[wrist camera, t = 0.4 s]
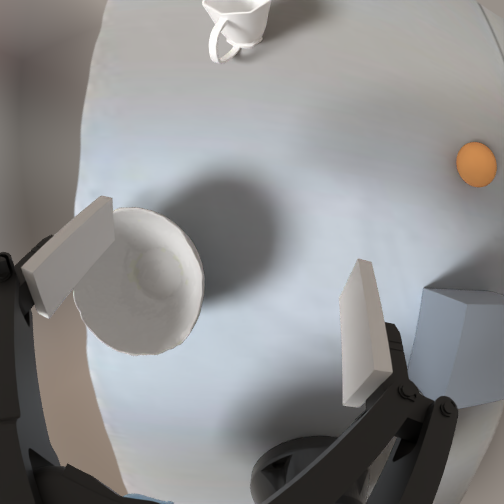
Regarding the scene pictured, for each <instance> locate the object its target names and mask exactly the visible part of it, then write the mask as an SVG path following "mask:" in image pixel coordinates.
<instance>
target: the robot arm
mask: <svg viewBox="0 0 504 504" xmlns="http://www.w3.org/2000/svg"><path fill="white" fill-rule="evenodd" d="M114 241H115V235H114V221H113V204H112V198H110V197H105V196H100V197H99V198H97V199H96V200H95V201H94V202H92V203H91V204H90V205H89V206H87V207H86V208H85V209H84V210H83V211H81V212H80V213H79V214H78V215H77V216H76V217H74V218H73V219H72V220H71V221H70V222H69V223H67V224H66V225H65V226H64V227H63V228H62V229H61V230H60V231H58V232H57V233H56V234H55V235H51V236H48V237H46V238H44V239H43V240H42V241H41V242H39V243H38V244H37V245H36V247H34V248H33V249H32V250H31V252H29V253H28V254H27V255H26V256H25V257H23V258H22V259H21V260H20V261H19V262H18V264H16V265H15V266H14V264H13V261H12V258H11V255H10V254H9V253H6V252H1V253H0V504H174V502H171V501H168V502H165V501H161V500H158V499H154V498H151V497H147V496H144V495H140V494H128V495H125V496H123V497H122V496H120V495H119V494H117V493H116V492H114V491H113V490H112V489H110V488H109V487H107V486H106V485H104V484H103V483H101V482H100V481H99V480H97V479H96V478H94V477H93V476H91V475H89V474H87V473H85V472H83V471H81V470H79V469H76V468H75V467H73V466H71V465H69V464H67V466H66V467H64V466H60V463H59V460H58V457H57V455H56V453H55V451H54V450H53V448H52V446H51V444H50V440H49V436H48V432H47V428H46V423H45V419H44V414H43V408H42V403H41V398H40V391H39V385H38V378H37V370H36V361H35V352H34V340H33V322H32V312H31V308H32V306H33V305H35V307H36V310H37V312H38V314H40V315H42V316H44V317H46V318H49V319H50V317H51V316H52V315H53V313H54V312H55V311H56V310H57V308H58V307H59V306H60V304H61V303H62V302H63V301H64V299H65V298H66V297H67V296H68V294H69V293H70V292H71V290H72V289H73V288H74V287H75V286H76V284H77V283H78V282H79V281H80V280H81V278H82V277H83V276H84V275H85V274H86V272H87V271H88V270H89V269H90V268H91V267H92V265H93V264H94V263H95V262H96V261H97V260H98V259H99V257H100V256H101V255H102V254H103V253H104V252H105V251H106V249H107V248H108V247H109V246H110V245H111V244H112V243H113V242H114ZM339 306H340V323H341V344H342V380H343V406H350V407H360V406H361V405H362V404H363V403H364V402H365V401H366V410H365V411H364V412H363V413H362V414H361V415H360V416H359V417H357V418H356V419H355V422H354V423H353V424H352V425H351V426H350V427H349V428H348V429H347V430H346V431H345V432H344V433H343V434H342V435H341V436H340V437H339V438H334V437H324V436H316V437H305V438H300V439H295V440H292V441H288V442H286V443H283V444H281V445H278V446H276V447H274V448H273V449H271V450H269V451H268V452H267V453H265V454H264V455H263V456H262V457H261V458H260V459H259V460H258V461H257V463H256V464H255V466H254V468H253V471H252V475H251V484H250V489H251V494H252V497H253V500H254V502H255V504H432V503H433V501H434V498H435V495H436V493H437V490H438V487H439V484H440V481H441V478H442V475H443V472H444V469H445V465H446V462H447V459H448V455H449V451H450V448H451V444H452V440H453V436H454V432H455V427H456V423H457V418H458V408H457V405H456V404H455V402H454V401H453V400H452V399H451V398H450V397H447V396H440V397H439V398H437V399H436V400H435V401H434V400H431V399H429V398H427V397H424V396H422V395H420V394H419V390H418V388H417V386H416V385H415V384H414V383H413V382H412V381H410V380H409V377H408V371H407V365H406V360H405V355H404V352H403V351H404V350H403V345H402V340H401V335H400V332H399V331H398V329H397V327H396V326H395V324H391V323H387V322H384V317H383V312H382V307H381V302H380V297H379V293H378V288H377V284H376V279H375V275H374V271H373V266H372V262H369V261H366V260H362V259H357V261H356V263H355V266H354V268H353V270H352V272H351V274H350V276H349V278H348V280H347V283H346V285H345V287H344V289H343V291H342V293H341V295H340V297H339ZM393 436H396V437H397V439H396V442H395V444H394V446H393V449H392V451H391V453H390V456H389V458H388V460H387V462H386V464H385V467H384V469H383V471H382V473H381V475H380V477H379V479H378V481H377V483H376V485H375V487H374V489H373V491H372V493H371V495H370V497H369V498H368V500H367V502H366V498H367V491H368V485H369V477H370V474H369V466H370V465H371V463H372V462H373V461H374V460H375V459H376V458H377V456H378V455H379V454H380V453H381V451H382V450H383V449H384V448H385V447H386V445H387V444H388V443H389V441H390V440H391V439H392V438H393Z"/></svg>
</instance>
